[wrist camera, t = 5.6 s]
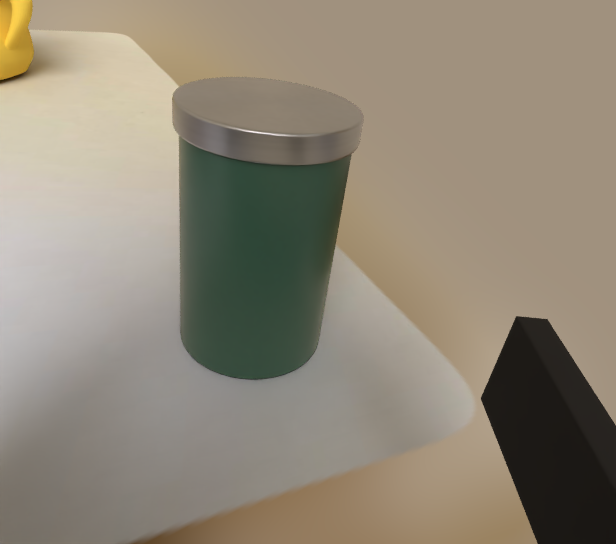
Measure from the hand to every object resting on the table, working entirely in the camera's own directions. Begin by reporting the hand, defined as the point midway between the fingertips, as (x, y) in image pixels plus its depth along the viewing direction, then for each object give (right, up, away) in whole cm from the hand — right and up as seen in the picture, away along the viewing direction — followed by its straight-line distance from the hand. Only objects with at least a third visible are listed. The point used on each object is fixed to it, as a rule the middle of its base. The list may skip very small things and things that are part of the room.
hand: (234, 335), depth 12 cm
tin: (-1, -1, +11) cm, 11 cm away
